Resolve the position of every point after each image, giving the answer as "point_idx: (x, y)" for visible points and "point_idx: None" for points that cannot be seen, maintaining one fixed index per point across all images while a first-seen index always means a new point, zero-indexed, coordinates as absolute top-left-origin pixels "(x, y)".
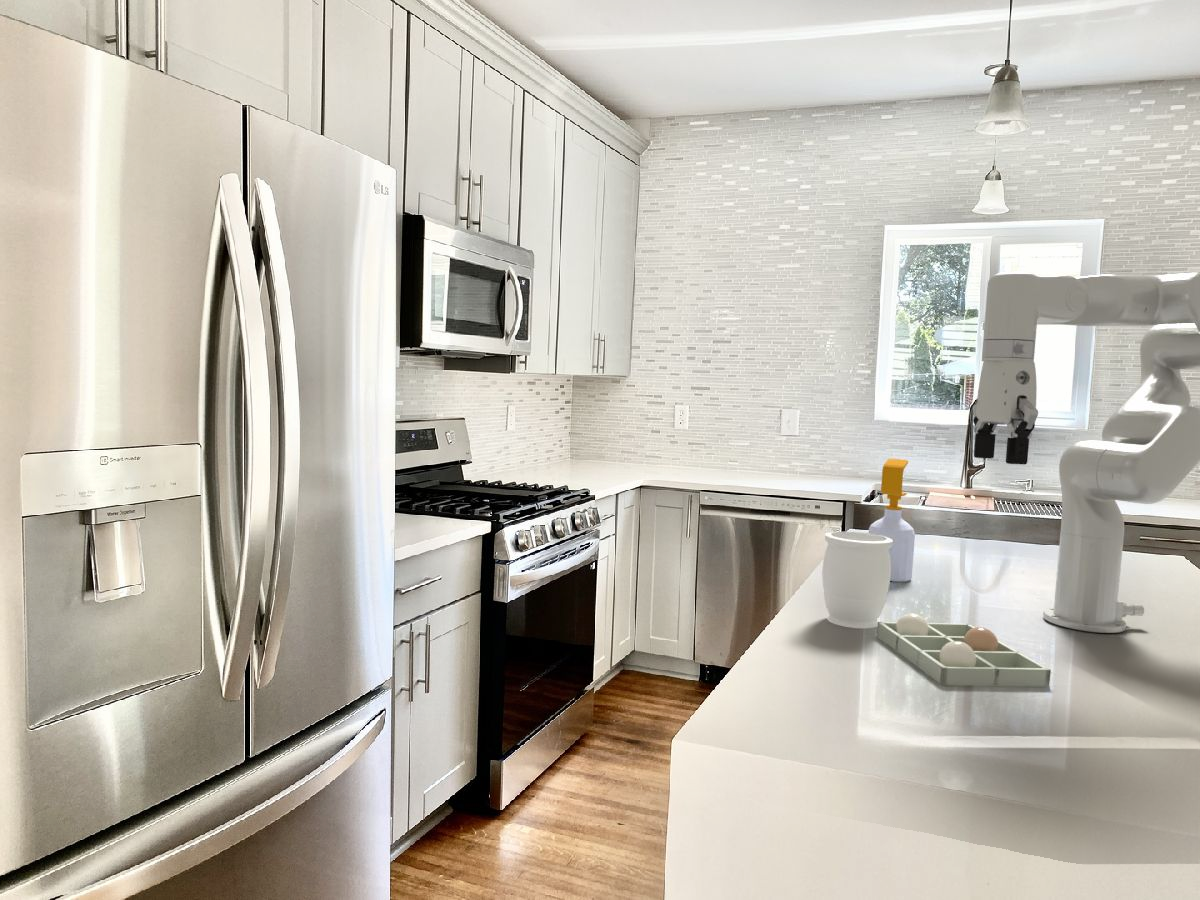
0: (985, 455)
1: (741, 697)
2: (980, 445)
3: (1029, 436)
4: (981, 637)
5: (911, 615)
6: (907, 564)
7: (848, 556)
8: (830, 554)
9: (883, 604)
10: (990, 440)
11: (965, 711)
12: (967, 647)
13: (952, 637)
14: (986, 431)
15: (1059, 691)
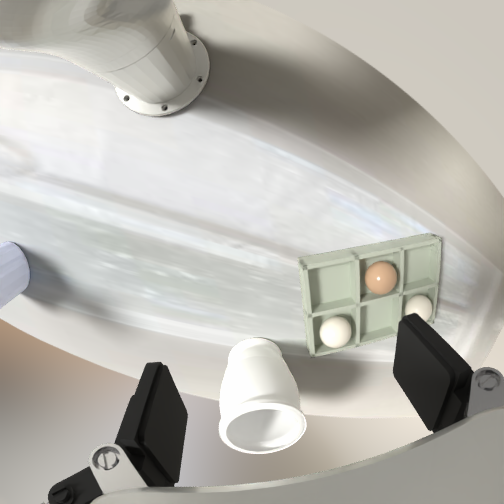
0: (177, 395)
1: (414, 409)
2: (179, 440)
3: (491, 376)
4: (395, 284)
5: (343, 342)
6: (10, 257)
7: (293, 425)
8: (273, 435)
9: (275, 355)
10: (158, 432)
11: (451, 305)
12: (430, 309)
13: (359, 299)
14: (154, 478)
15: (424, 220)
